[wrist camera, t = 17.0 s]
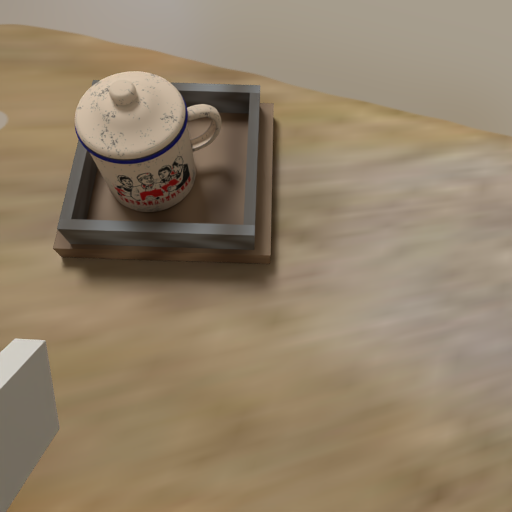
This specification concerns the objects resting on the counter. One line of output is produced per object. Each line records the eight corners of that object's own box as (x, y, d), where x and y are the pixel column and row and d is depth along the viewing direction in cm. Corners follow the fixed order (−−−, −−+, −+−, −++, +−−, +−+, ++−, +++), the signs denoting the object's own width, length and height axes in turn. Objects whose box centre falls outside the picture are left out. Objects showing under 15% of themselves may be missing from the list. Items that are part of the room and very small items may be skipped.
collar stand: (272, 116, 49) (274, 82, 44) (269, 263, 42) (271, 241, 37) (95, 110, 49) (79, 76, 44) (61, 257, 42) (38, 233, 37)
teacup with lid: (119, 228, 41) (73, 151, 30) (97, 154, 44) (48, 61, 33) (239, 189, 43) (235, 103, 32) (208, 121, 46) (196, 22, 35)
